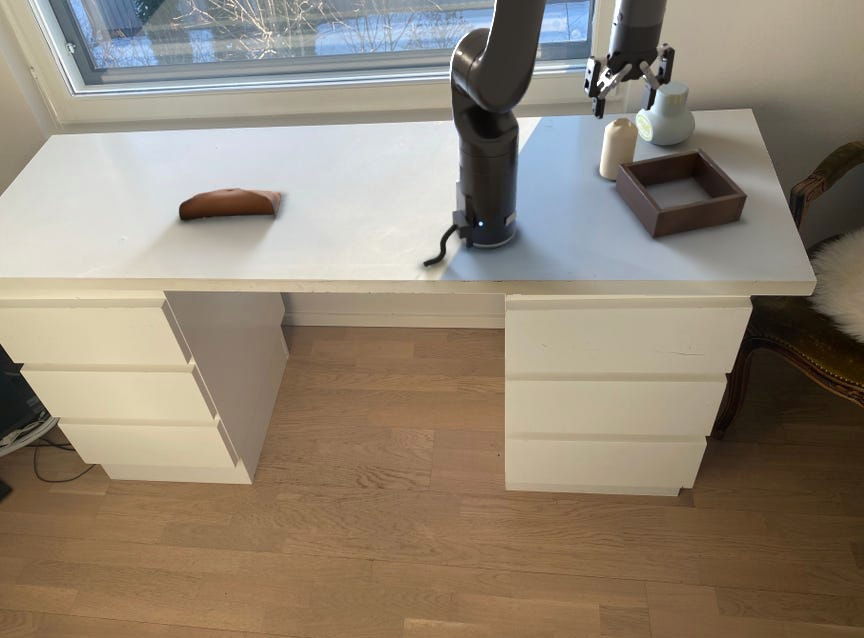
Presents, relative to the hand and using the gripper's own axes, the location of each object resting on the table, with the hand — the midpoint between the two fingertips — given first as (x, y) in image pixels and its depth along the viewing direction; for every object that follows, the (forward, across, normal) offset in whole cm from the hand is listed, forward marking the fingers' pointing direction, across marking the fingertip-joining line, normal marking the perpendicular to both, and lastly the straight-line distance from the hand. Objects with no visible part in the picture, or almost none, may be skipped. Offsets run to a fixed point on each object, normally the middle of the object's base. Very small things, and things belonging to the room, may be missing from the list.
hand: (621, 112), depth 123 cm
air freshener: (+12, -14, -8) cm, 20 cm away
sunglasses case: (+13, +69, -12) cm, 72 cm away
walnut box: (+12, -6, +13) cm, 18 cm away
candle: (+12, -1, 0) cm, 12 cm away
